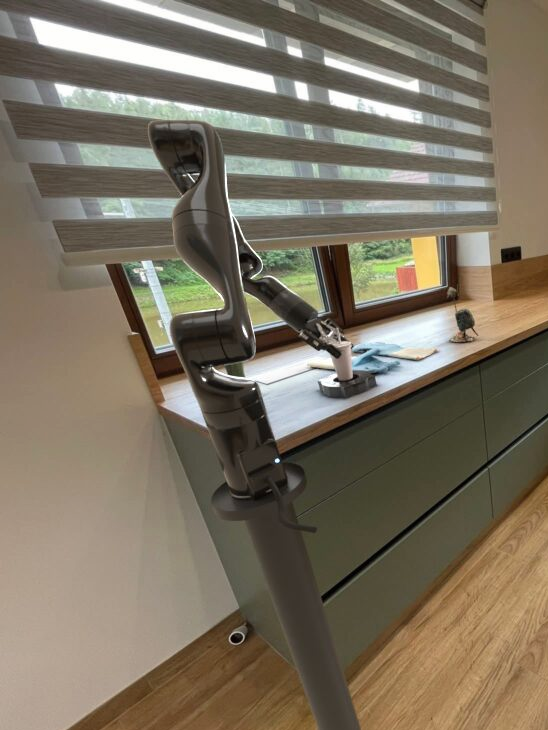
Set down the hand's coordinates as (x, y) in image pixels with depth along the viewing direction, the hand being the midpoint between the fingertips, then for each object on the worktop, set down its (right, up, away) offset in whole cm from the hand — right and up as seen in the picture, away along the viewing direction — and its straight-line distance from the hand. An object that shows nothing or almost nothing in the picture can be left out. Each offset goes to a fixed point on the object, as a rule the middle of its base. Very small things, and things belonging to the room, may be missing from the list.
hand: (346, 352), depth 114 cm
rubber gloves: (-1, 0, +28) cm, 28 cm away
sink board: (-1, -10, +4) cm, 10 cm away
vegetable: (-26, -4, -6) cm, 27 cm away
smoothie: (-1, -7, +3) cm, 8 cm away
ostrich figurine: (+27, +7, +43) cm, 51 cm away
